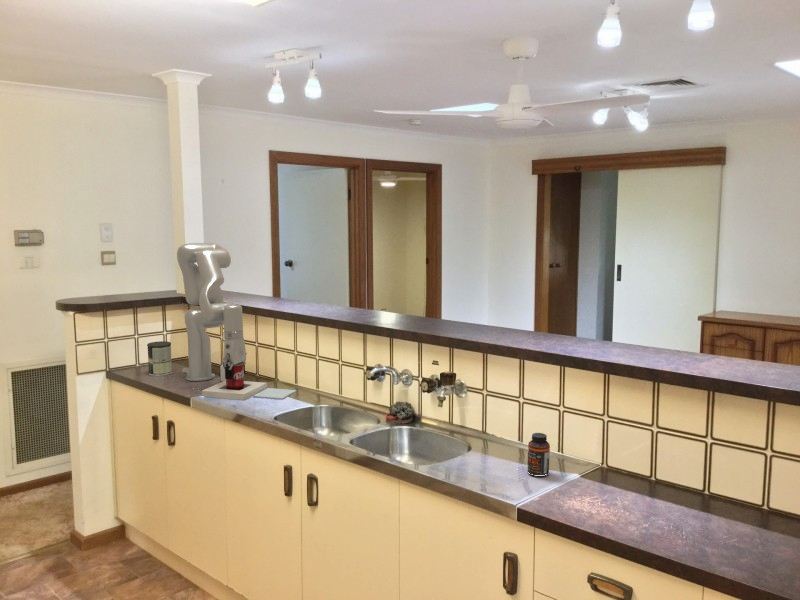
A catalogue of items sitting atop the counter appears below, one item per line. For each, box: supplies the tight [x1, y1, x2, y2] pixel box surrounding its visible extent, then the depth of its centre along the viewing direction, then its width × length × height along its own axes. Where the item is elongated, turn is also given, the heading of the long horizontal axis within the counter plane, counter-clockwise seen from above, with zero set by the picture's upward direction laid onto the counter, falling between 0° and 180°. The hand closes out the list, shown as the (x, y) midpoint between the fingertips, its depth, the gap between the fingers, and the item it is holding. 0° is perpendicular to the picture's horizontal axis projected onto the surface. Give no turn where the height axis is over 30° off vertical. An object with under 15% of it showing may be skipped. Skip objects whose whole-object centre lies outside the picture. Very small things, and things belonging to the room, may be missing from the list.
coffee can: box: [146, 340, 173, 377], centre depth 311 cm, size 10×10×14 cm
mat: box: [252, 387, 298, 401], centre depth 274 cm, size 13×13×1 cm
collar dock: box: [201, 380, 268, 401], centre depth 277 cm, size 19×19×2 cm
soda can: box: [226, 363, 245, 390], centre depth 276 cm, size 7×7×12 cm
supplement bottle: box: [526, 432, 551, 475], centre depth 188 cm, size 6×6×11 cm
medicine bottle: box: [219, 364, 226, 382], centre depth 297 cm, size 7×7×12 cm
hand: (235, 376), depth 276 cm, fingers open, 9 cm apart
